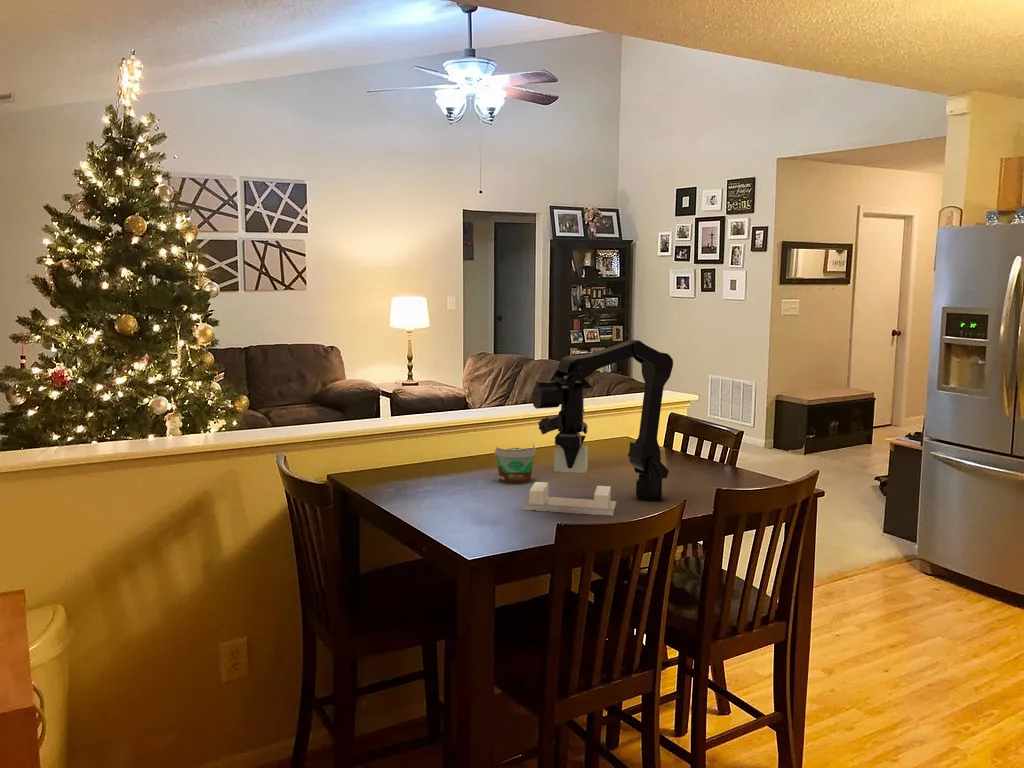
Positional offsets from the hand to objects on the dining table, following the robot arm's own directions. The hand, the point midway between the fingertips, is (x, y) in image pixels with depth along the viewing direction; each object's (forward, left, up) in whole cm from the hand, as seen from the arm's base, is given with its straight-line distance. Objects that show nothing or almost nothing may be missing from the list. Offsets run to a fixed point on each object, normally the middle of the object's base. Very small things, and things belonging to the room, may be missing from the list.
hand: (571, 466), depth 214 cm
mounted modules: (0, 0, -11) cm, 11 cm away
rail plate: (0, 0, -11) cm, 11 cm away
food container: (+18, -22, -11) cm, 31 cm away
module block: (0, 0, -1) cm, 1 cm away
